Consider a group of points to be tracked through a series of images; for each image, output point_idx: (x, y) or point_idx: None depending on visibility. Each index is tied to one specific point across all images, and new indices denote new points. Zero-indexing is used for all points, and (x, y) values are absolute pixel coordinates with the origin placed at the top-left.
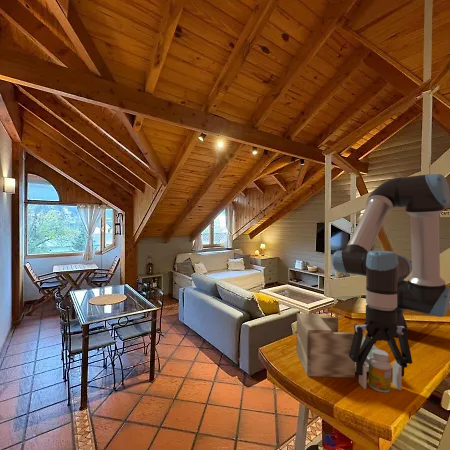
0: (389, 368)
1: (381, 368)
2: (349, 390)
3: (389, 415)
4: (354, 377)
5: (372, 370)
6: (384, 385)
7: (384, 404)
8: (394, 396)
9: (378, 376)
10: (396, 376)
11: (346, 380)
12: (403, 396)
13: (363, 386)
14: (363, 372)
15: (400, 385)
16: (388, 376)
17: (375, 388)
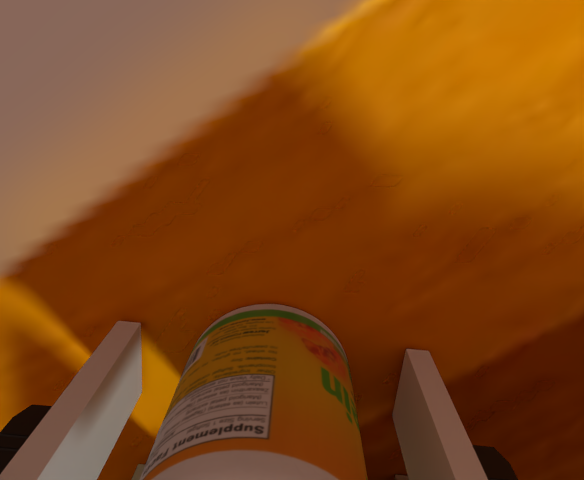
0: (186, 468)
1: (305, 472)
2: (551, 343)
3: (437, 29)
4: (397, 475)
5: (366, 477)
6: (276, 334)
7: (378, 169)
8: (221, 258)
9: (329, 402)
10: (101, 414)
11: None
12: (144, 255)
13: (433, 362)
14: (475, 461)
15: (109, 342)
16: (221, 391)
17: (335, 340)
